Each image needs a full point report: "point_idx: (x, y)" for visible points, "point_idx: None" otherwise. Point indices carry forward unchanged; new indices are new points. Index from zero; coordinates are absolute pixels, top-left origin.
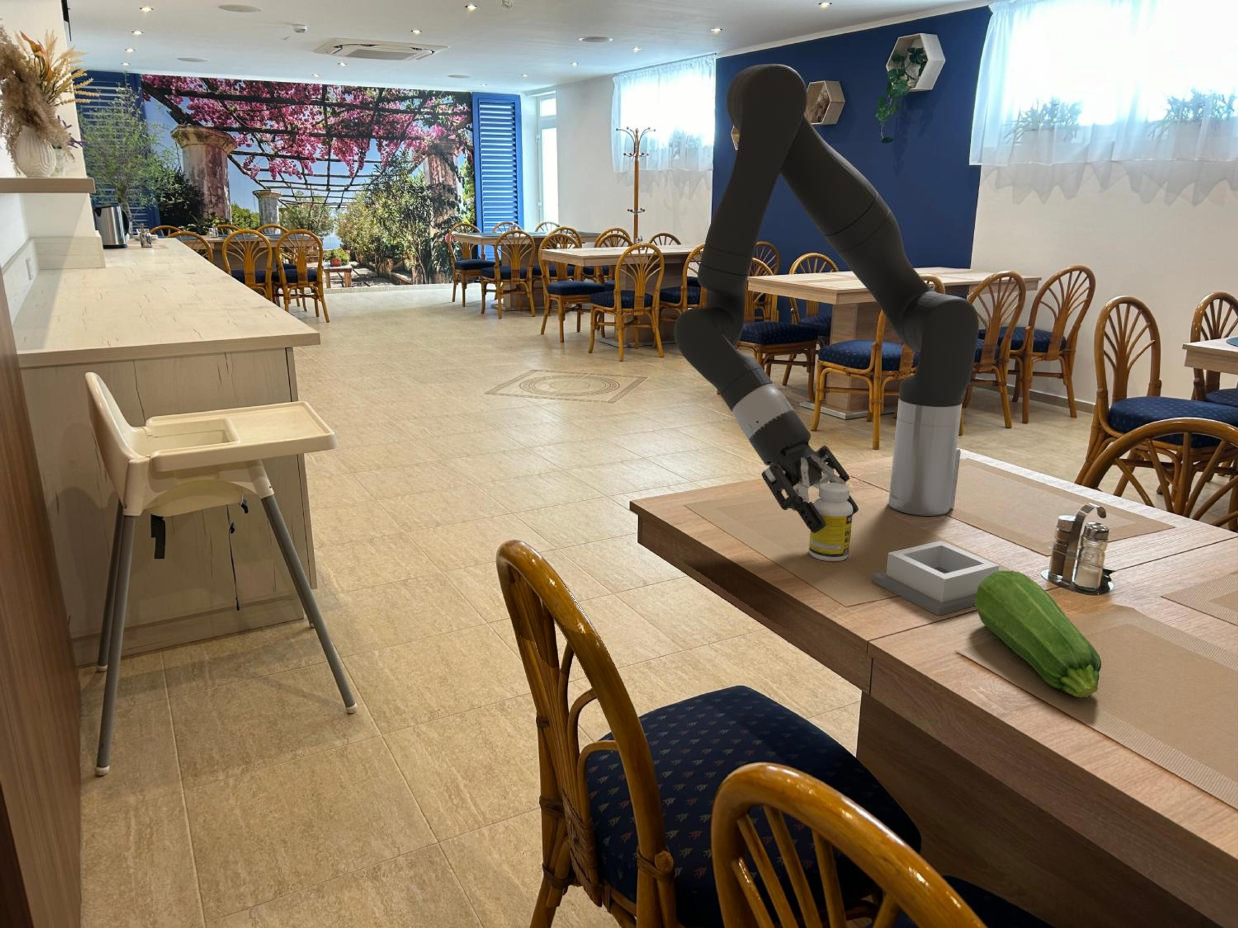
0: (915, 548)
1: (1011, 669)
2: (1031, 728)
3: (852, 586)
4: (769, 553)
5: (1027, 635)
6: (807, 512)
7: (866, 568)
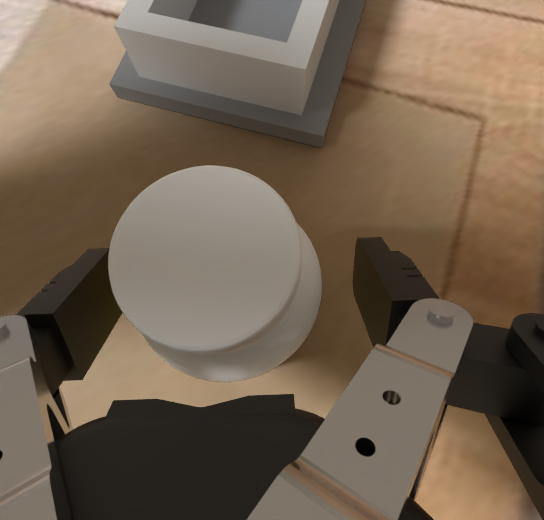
0: (220, 41)
1: None
2: None
3: (380, 163)
4: None
5: None
6: (431, 291)
7: None
